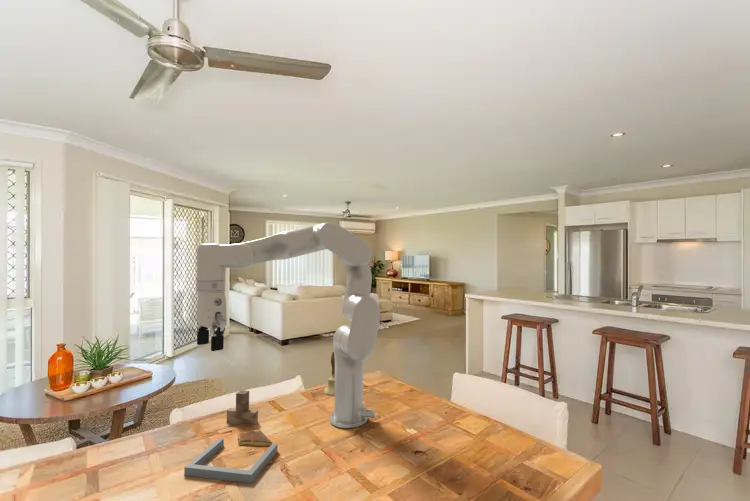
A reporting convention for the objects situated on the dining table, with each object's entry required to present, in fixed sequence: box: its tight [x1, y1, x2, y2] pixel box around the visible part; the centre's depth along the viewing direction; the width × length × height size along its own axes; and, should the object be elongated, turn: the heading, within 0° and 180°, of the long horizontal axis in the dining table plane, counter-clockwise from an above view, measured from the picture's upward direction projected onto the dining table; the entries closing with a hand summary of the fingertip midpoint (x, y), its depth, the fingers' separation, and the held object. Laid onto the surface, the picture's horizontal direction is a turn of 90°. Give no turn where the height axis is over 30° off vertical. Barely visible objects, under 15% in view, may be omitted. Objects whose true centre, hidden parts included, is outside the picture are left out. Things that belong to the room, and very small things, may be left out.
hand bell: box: [323, 351, 335, 396], centre depth 146 cm, size 8×8×16 cm
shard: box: [236, 429, 273, 447], centre depth 105 cm, size 11×8×2 cm
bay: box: [183, 438, 279, 484], centre depth 95 cm, size 18×14×2 cm
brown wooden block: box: [226, 389, 259, 426], centre depth 118 cm, size 10×3×10 cm, turn 81°
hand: (209, 347), depth 102 cm, fingers open, 9 cm apart
